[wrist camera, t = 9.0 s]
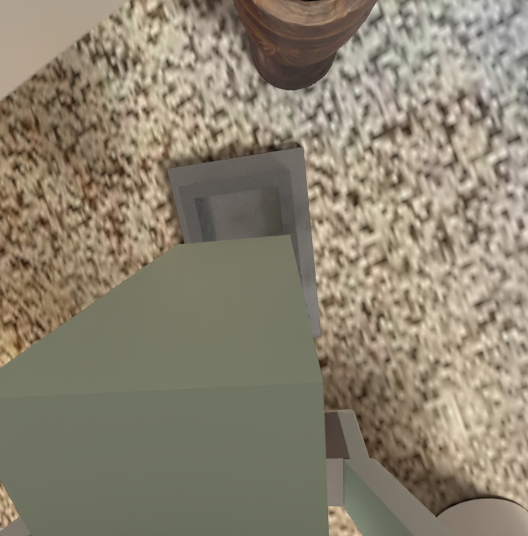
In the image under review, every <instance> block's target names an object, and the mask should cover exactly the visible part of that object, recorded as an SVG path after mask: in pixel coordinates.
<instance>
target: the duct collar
mask: <svg viewBox="0 0 528 536" xmlns="http://www.w3.org/2000/svg"><path fill="white" fill-rule="evenodd" d="M167 171H168V175H169V180H170V184H171V188H172V192H173V196H174V201H175V205H176V209H177V213H178V217H179V222H180V226H181V230H182V234H183V238H184V243H185V244H189V243H200V242H212V241H223V240H235V239H246V238H258V237H269V236H281V235H290V237H291V241H292V246H293V250H294V255H295V259H296V263H297V268H298V272H299V277H300V281H301V286H302V290H303V294H304V299H305V303H306V308H307V312H308V317H309V321H310V326H311V330H312V334H313V337H321V330H320V319H319V309H318V298H317V287H316V277H315V266H314V255H313V245H312V234H311V223H310V213H309V202H308V191H307V181H306V170H305V159H304V149H303V147H299V148H293V149H287V150H281V151H275V152H268V153H262V154H256V155H250V156H244V157H237V158H231V159H225V160H219V161H212V162H206V163H200V164H194V165H188V166H181V167H175V168H169V169H167Z"/></svg>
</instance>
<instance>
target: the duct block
mask: <svg viewBox="0 0 528 536" xmlns="http://www.w3.org/2000/svg"><path fill="white" fill-rule="evenodd" d="M0 481H1V482H2V484H3V486H4V488H5V490H6V491H7V493H8V495H9V497H10V498H11V500H12V502H13V504H14V506H15V507H16V509H17V511H18V513H19V514H20V516H21V518H22V520H23V522H24V523H25V525H26V527H27V529H28V530H29V532H30V534H31V536H329V526H328V499H327V471H326V444H325V417H324V389H323V379H322V374H321V370H320V365H319V361H318V357H317V352H316V348H315V343H314V339H313V334H312V330H311V326H310V321H309V317H308V312H307V308H306V303H305V299H304V294H303V290H302V286H301V281H300V277H299V272H298V268H297V263H296V259H295V255H294V250H293V246H292V241H291V237H290V235H281V236H269V237H258V238H246V239H235V240H223V241H212V242H200V243H189V244H177V245H175V246H174V247H172V248H171V249H169V250H168V251H166V252H165V253H164V254H162V255H161V256H159V257H158V258H157V259H155V260H154V261H152V262H151V263H149V264H148V265H147V266H145V267H144V268H142V269H141V270H139V271H138V272H137V273H135V274H134V275H132V276H131V277H129V278H128V279H127V280H125V281H124V282H122V283H121V284H120V285H118V286H117V287H115V288H114V289H112V290H111V291H110V292H108V293H107V294H105V295H104V296H102V297H101V298H100V299H98V300H97V301H95V302H94V303H92V304H91V305H90V306H88V307H87V308H85V309H84V310H83V311H81V312H80V313H78V314H77V315H75V316H74V317H73V318H71V319H70V320H68V321H67V322H65V323H64V324H63V325H61V326H60V327H58V328H57V329H55V330H54V331H53V332H51V333H50V334H48V335H47V336H46V337H44V338H43V339H41V340H40V341H38V342H37V343H36V344H34V345H33V346H31V347H30V348H28V349H27V350H26V351H24V352H23V353H21V354H20V355H18V356H17V357H16V358H14V359H13V360H11V361H10V362H9V363H7V364H6V365H4V366H3V367H1V368H0Z"/></svg>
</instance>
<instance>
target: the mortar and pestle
mask: <svg viewBox="0 0 528 536" xmlns="http://www.w3.org/2000/svg"><path fill="white" fill-rule="evenodd" d="M376 2H377V0H234V3H235V6H236V9H237V12H238V14H239V16H240V19H241V21H242V23H243V25H244V27H245V29H246V31H247V33H248V34H249V36H250V49H251V53H252V56H253V59H254V62H255V64H256V67H257V68H258V70H259V72H260V73H261V75H262V76H263V77H264V78H265V79H266V80H267V81H268V82H269V83H270V84H271V85H273V86H275V87H277V88H280V89H285V90H297V89H301V88H305V87H308V86H311V85H312V84H314V83H316V82H317V81H318V80H320V79H321V78H323V77H324V76H325V75H326V73H327V72H328V70H329V69H330V67H331V66H332V63H333V61H334V58H335V55H336V51H337V50H338V49H339V48H341V47H342V46H343V45H344V44H345V43H346V42H347V41H348V40H349V39H350V38H351V37H352V36H353V35H354V34H355V33H356V32H357V30H358V29H359V27H360V26H361V25H362V24H363V23H364V21H365V20H366V19H367V17H368V15H369V14H370V12H371V10H372V8H373V7H374V5H375V3H376Z"/></svg>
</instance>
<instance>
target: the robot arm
mask: <svg viewBox="0 0 528 536" xmlns="http://www.w3.org/2000/svg"><path fill="white" fill-rule="evenodd" d="M324 417H325V444H326V471H327V499H328V506H344V508H345V510H346V511H347V513H348V514H349V516H350V517H351V518H352V520H353V521H354V523H355V524H356V526H357V527H358V529H359V530H360V532H361V533H362V534H363V536H528V512H527V511H526V510H525V509H524V508H522V507H521V506H519V505H517V504H515V503H512V502H510V501H506V500H501V499H476V500H471V501H466V502H463V503H460V504H457V505H455V506H453V507H451V508H449V509H447V510H445V511H444V512H442V513H441V514H440V515H439V516H438V517H435V516H434V515H433V514H432V513H431V512H430V511H429V510H428V509H427V508H426V507H425V506H424V505H423V504H422V503H421V502H420V501H419V500H418V499H417V498H416V497H415V496H413V495H412V494H411V493H410V492H409V491H408V490H407V489H406V488H405V487H404V486H403V485H402V484H401V483H400V482H399V481H398V480H397V479H396V478H395V477H394V476H393V475H392V474H391V473H390V472H388V471H387V470H386V469H385V468H384V467H383V466H382V465H381V464H380V463H379V462H378V461H377V460H376V459H371V458H369V455H368V452H367V449H366V446H365V443H364V440H363V437H362V434H361V431H360V428H359V425H358V422H357V419H356V416H355V413H354V411H353V410H352V409H346V410H326V411H324ZM0 536H31V534H30V532H29V530H28V529H27V527H26V525H25V523H24V522H23V520H22V518H21V516H20V517H18V518H17V519H16V520H14V521H13V522H12V523H11V524H9V525H8V526H7V527H5V528H4V529H3V530H1V531H0Z"/></svg>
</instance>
